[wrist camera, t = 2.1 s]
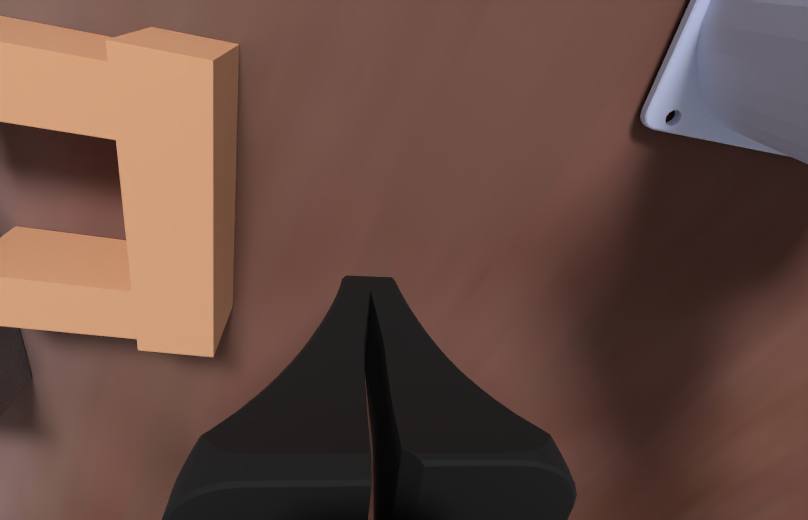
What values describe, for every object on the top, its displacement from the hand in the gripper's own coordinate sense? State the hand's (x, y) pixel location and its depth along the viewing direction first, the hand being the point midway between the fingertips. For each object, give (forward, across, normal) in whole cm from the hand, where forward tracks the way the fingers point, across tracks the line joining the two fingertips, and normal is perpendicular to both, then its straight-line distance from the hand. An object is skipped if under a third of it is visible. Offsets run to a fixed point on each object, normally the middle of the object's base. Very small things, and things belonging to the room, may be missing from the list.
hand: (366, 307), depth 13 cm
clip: (+6, +8, -1) cm, 10 cm away
